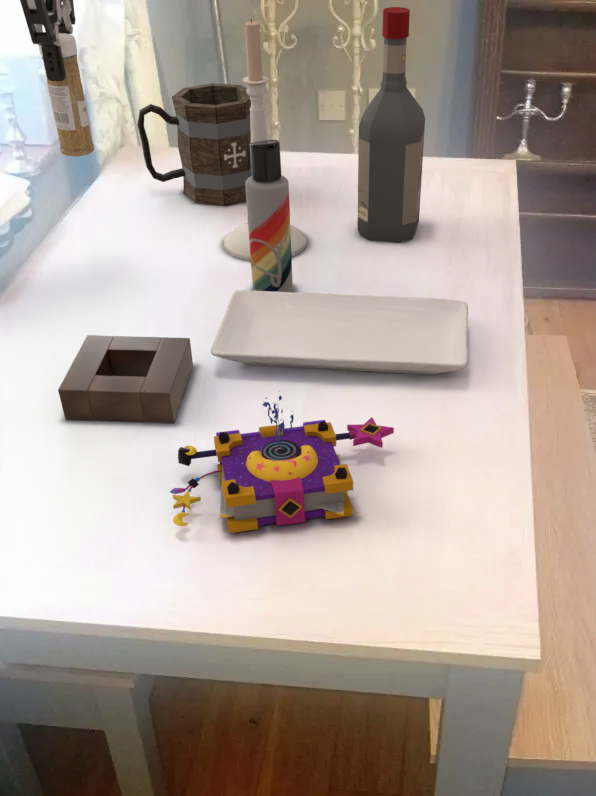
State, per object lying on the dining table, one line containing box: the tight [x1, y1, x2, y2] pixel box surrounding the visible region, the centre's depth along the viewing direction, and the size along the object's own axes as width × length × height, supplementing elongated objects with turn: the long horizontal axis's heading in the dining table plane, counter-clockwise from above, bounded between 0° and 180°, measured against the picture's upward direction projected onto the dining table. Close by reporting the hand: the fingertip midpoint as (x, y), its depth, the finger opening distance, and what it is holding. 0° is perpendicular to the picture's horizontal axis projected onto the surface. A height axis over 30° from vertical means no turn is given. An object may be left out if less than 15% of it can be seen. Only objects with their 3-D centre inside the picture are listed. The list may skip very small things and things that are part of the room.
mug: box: [136, 82, 252, 207], centre depth 150 cm, size 20×14×15 cm
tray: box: [210, 289, 469, 376], centre depth 115 cm, size 17×32×4 cm, turn 84°
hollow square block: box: [57, 334, 194, 424], centre depth 107 cm, size 13×13×4 cm
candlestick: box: [223, 18, 307, 262], centre depth 129 cm, size 13×13×30 cm
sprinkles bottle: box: [38, 33, 95, 157], centre depth 116 cm, size 5×5×13 cm
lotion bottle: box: [245, 139, 294, 292], centre depth 121 cm, size 6×6×20 cm
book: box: [169, 390, 395, 534], centre depth 90 cm, size 14×25×12 cm, turn 102°
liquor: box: [356, 6, 426, 244], centre depth 132 cm, size 9×9×30 cm
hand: (62, 73), depth 114 cm, fingers closed on sprinkles bottle, 4 cm apart
